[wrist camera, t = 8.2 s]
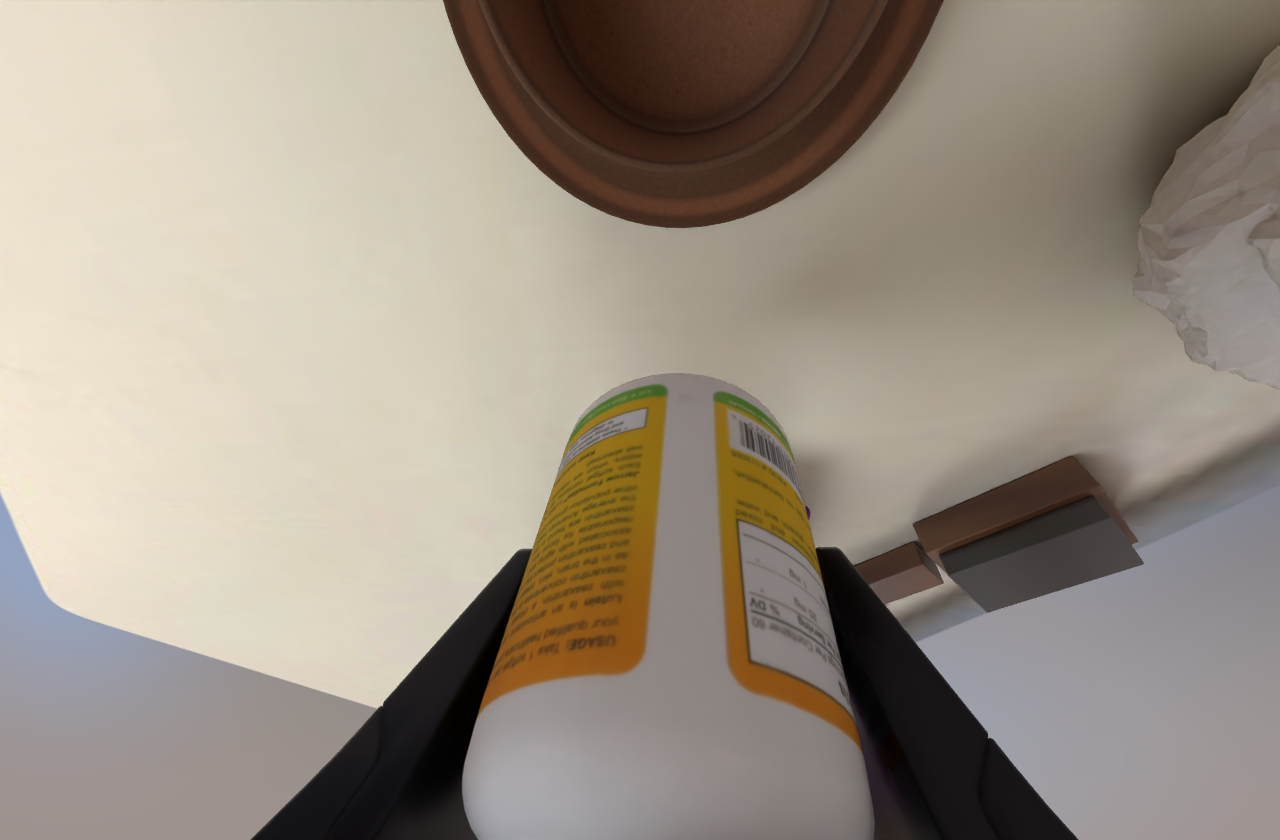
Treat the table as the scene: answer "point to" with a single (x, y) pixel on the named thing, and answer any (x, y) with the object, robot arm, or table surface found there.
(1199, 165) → the fossil replica
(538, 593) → the supplement bottle
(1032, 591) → the hairbrush
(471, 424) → the table surface
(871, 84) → the cup and saucer
